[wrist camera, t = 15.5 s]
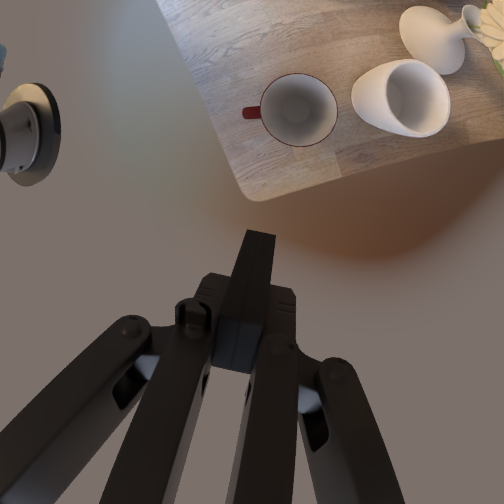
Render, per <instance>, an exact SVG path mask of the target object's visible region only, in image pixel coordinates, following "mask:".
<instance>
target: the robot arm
mask: <svg viewBox="0 0 504 504" xmlns="http://www.w3.org/2000/svg"><path fill="white" fill-rule="evenodd" d="M5 56H6V48H5V46H4V45H2V44H0V76H1V72H2V71H3V64H4V60H5ZM41 141H42V128H41V121H40V117H39V114H38V112H37V110H36V108H35V107H34V106H33V104H31V103H30V102H27V101H22V102H17V103H15V104H12V105H11V106H9V107H8V108H6V109H5V110H3V111H2V112H0V172H15V173H14V175H15V174H17V173H19V172H21V171H24V170H26V169H29V168H30V167H31V166H32V165H33V164H34V163H35V161H36V159H37V157H38V155H39V152H40V148H41ZM275 239H276V235H272V234H268V233H263V232H258V231H253V230H248V229H247V231H246V234H245V237H244V240H243V243H242V246H241V249H240V251H239V254H238V257H237V260H236V263H235V266H234V269H233V272H232V275H231V277H229V276H224V275H220V274H216V273H209V274H208V275H206V276H205V277H204V278H203V279H202V281H201V283H200V285H199V287H198V289H197V291H196V294H195V295H194V297H193V298H187V299H184V300H182V301H180V302H179V303H178V304H177V305H176V306H175V325H171V326H165V327H157V326H155V327H154V326H150V324H149V322H148V321H147V320H146V319H145V318H143V317H141V316H138V315H127V316H123V317H121V318H120V319H118V320H117V321H116V322H115V323H113V324H112V325H111V326H110V327H109V328H108V329H107V330H106V331H104V332H103V333H102V334H101V335H100V336H99V337H98V338H97V339H96V340H95V341H93V343H91V344H90V345H89V346H88V347H87V348H86V349H85V350H84V351H83V352H82V353H80V355H78V356H77V357H76V358H75V359H74V360H73V361H72V362H71V363H70V364H69V365H68V366H67V367H66V368H64V369H63V370H62V372H60V373H59V374H58V375H57V376H56V377H55V378H54V379H53V380H52V381H51V382H50V383H49V384H48V385H47V386H46V387H45V388H44V389H43V390H42V391H41V392H40V393H39V394H38V395H37V396H36V397H35V398H34V399H33V400H32V401H31V402H30V403H29V404H28V405H27V406H26V407H25V408H24V409H23V410H22V411H21V412H20V413H19V414H18V415H17V416H16V417H15V418H14V419H13V420H12V421H11V422H10V423H9V424H8V425H7V426H6V427H5V428H4V429H3V430H2V431H1V432H0V504H54V503H55V502H56V501H57V499H58V498H59V497H60V495H62V493H63V492H64V491H65V490H66V489H67V487H68V486H69V485H70V483H71V482H72V481H73V480H74V479H75V478H76V476H77V475H78V474H79V473H80V472H81V470H82V469H83V468H84V467H85V466H86V464H87V463H88V462H89V461H90V459H91V458H92V457H93V456H94V455H95V453H96V452H97V451H98V450H99V449H100V447H101V446H102V445H103V444H104V442H105V441H106V440H107V439H108V438H109V436H110V435H111V434H112V433H113V432H114V430H115V429H116V428H117V427H118V425H119V424H120V423H121V422H122V421H123V419H124V418H125V417H126V416H127V414H128V413H129V412H130V411H131V409H132V408H133V407H134V406H135V405H136V403H137V402H138V401H139V400H140V398H141V397H142V398H141V401H140V403H139V405H138V408H137V410H136V412H135V415H134V417H133V419H132V422H131V424H130V426H129V429H128V431H127V434H126V436H125V439H124V441H123V443H122V446H121V448H120V451H119V453H118V455H117V458H116V461H115V463H114V466H113V468H112V471H111V473H110V476H109V478H108V481H107V484H106V486H105V489H104V491H103V494H102V497H101V500H100V502H99V504H174V501H175V497H176V493H177V490H178V486H179V483H180V479H181V475H182V472H183V468H184V465H185V461H186V458H187V454H188V450H189V447H190V443H191V440H192V436H193V433H194V429H195V426H196V422H197V419H198V415H199V411H200V408H201V405H202V401H203V398H204V394H205V391H206V387H207V384H208V380H209V374H210V368H211V365H212V366H214V367H219V368H223V369H227V370H232V371H237V372H241V373H247V374H251V376H250V380H249V383H248V387H247V390H246V393H245V396H246V398H245V403H244V409H243V414H242V420H241V425H240V431H239V436H238V442H237V447H236V452H235V458H234V462H233V468H232V472H231V478H230V483H229V487H228V493H227V497H226V502H225V504H292V494H293V483H294V470H295V456H296V440H297V420H298V422H299V426H300V430H301V434H302V439H303V443H304V448H305V452H306V456H307V461H308V464H309V469H310V474H311V478H312V482H313V486H314V491H315V495H316V500H317V504H405V502H404V499H403V496H402V492H401V489H400V487H399V483H398V480H397V478H396V475H395V472H394V469H393V466H392V463H391V461H390V458H389V455H388V452H387V449H386V447H385V444H384V441H383V439H382V436H381V433H380V431H379V428H378V425H377V423H376V421H375V418H374V415H373V413H372V410H371V408H370V405H369V403H368V400H367V398H366V395H365V393H364V390H363V388H362V386H361V383H360V381H359V378H358V376H357V373H356V372H355V369H354V368H353V366H352V365H351V364H350V363H348V362H347V361H346V360H343V359H341V358H336V357H331V358H327V359H325V360H324V361H323V362H320V361H317V360H315V359H313V358H310V357H308V356H307V355H305V354H304V353H303V352H302V351H301V350H300V349H299V347H298V345H297V343H296V296H295V294H294V293H293V291H292V289H291V288H286V287H281V286H276V285H271V284H270V281H271V272H272V264H273V256H274V248H275Z"/></svg>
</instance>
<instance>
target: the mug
mask: <svg viewBox="0 0 504 504" xmlns="http://www.w3.org/2000/svg"><path fill="white" fill-rule="evenodd" d="M242 115H243V118H244V119H259V118H261V119H262V122H263V124H264V126H265V128H266V129H267V131H268V132H269V133H270V134H271V135H272V136H273V137H274V138H275V139H277V140H278V141H280V142H282V143H284V144H286V145H290V146H294V147H307V146H311V145H314V144H317V143H319V142H321V141H322V140H324V139H325V138H326V137H327V136H328V135H329V134H330V133H331V132H332V130H333V128H334V127H335V124H336V121H337V117H338V107H337V102H336V99H335V97H334V95H333V93H332V91H331V90H330V89H329V87H328V86H327V85H326V84H325V83H323V82H322V81H321V80H319V79H317V78H315V77H313V76H310V75H307V74H301V73H294V74H287V75H284V76H281V77H279V78H277V79H276V80H274V81H273V82H272V83H271V84H270V85H269V86H268V87H267V88H266V90H265V91H264V93H263V95H262V98H261V102H260V106H255V107H246V108H244V109H243V110H242Z"/></svg>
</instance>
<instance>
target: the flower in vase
mask: <svg viewBox="0 0 504 504" xmlns="http://www.w3.org/2000/svg"><path fill="white" fill-rule="evenodd" d="M492 1H493V4H491V3H487V0H484V2H483V5H482V9H481V10H480V9H479V8H477V7H476V6H473V5H466V6H464V7H463V9H462V17H461V18H460V19H459V20H458V21H456V22H454V23H452V21H451V20H450V19H449V18H448V17H446V16H445V15H444V14H442V13H441V12H439V11H437V10H435V9H433V8H430V7H425V6H413V7H410V8H408V9H407V10H405V11H404V12H403V14H402V16H401V18H400V22H399V30H400V35H401V38H402V41H403V43H404V45H405V47H406V49H407V50H408V52H409V53H410V54H411V56H412V57H413V58H414V59H416V60H419V61H422V62H424V63H426V64H427V65H429V66H430V67H432V68H433V69H434V70H435V71H436V72H437V73H438V74H443V75H446V74H452V73H454V72H456V71H457V70H458V69H459V68H460V67H461V65H462V64H463V61H464V58H465V46H464V42H463V39H462V38H475V39H477V40H478V41H479V42H481V43H484V45H486V46H487V47H488V48H489V50H490V51H491V52H492V53H491V54H492V58H493V61H494V64H495V66H496V68H497V70H498V71H499V73H500V75H501V76H502V77H503V78H504V0H492Z"/></svg>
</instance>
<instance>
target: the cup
mask: <svg viewBox="0 0 504 504" xmlns="http://www.w3.org/2000/svg"><path fill="white" fill-rule="evenodd" d="M351 99H352V105H353V107H354V109H355V112H356V113H357V114H358V115H359V117H360V118H362V119H363V120H364V121H365V122H367V123H369V124H371V125H373V126H375V127H377V128H380V129H382V130H385V131H388V132H392V133H396V134H399V135H404V136H409V137H428V136H431V135H434V134H436V133H437V132H438V131H440V130H441V129H442V128H443V127H444V126H445V124H446V123H447V121H448V118H449V115H450V107H451V102H450V96H449V92H448V89H447V86H446V83H445V82H444V80H443V79H442V78H441V76H440V75H439V74H438V73H437V72H436V71H435V70H434V69H433V68H432V67H430V66H429V65H427V64H426V63H424V62H422V61H419V60H416V59H402V60H396V61H392V62H388V63H385V64H381V65H379V66H377V67H375V68H373V69H371V70H369V71H368V72H366V73H365V74H364V75H362V76H361V77H360V78H358V79H357V81H356V82H355V83H354V85H353V88H352V93H351Z"/></svg>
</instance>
